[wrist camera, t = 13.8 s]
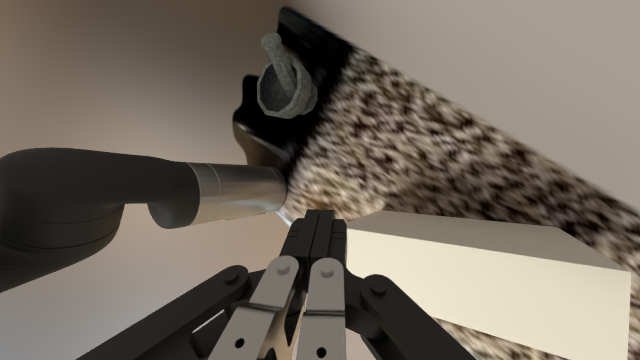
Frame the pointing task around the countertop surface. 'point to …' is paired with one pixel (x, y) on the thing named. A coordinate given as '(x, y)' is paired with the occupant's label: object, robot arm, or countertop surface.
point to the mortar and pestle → (284, 83)
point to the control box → (501, 279)
